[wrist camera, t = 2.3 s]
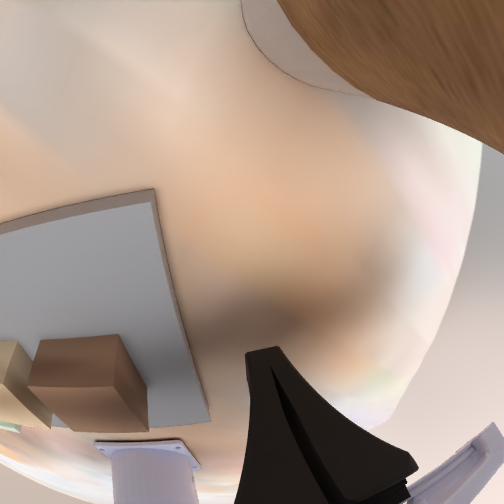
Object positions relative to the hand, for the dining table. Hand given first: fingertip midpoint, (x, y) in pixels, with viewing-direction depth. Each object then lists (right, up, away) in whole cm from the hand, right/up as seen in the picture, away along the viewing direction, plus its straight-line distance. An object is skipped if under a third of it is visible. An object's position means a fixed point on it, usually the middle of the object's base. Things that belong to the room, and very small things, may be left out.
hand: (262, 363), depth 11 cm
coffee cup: (+2, +13, -4) cm, 14 cm away
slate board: (-11, 0, 0) cm, 11 cm away
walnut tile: (-8, -1, -1) cm, 8 cm away
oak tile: (-13, -1, -2) cm, 13 cm away
